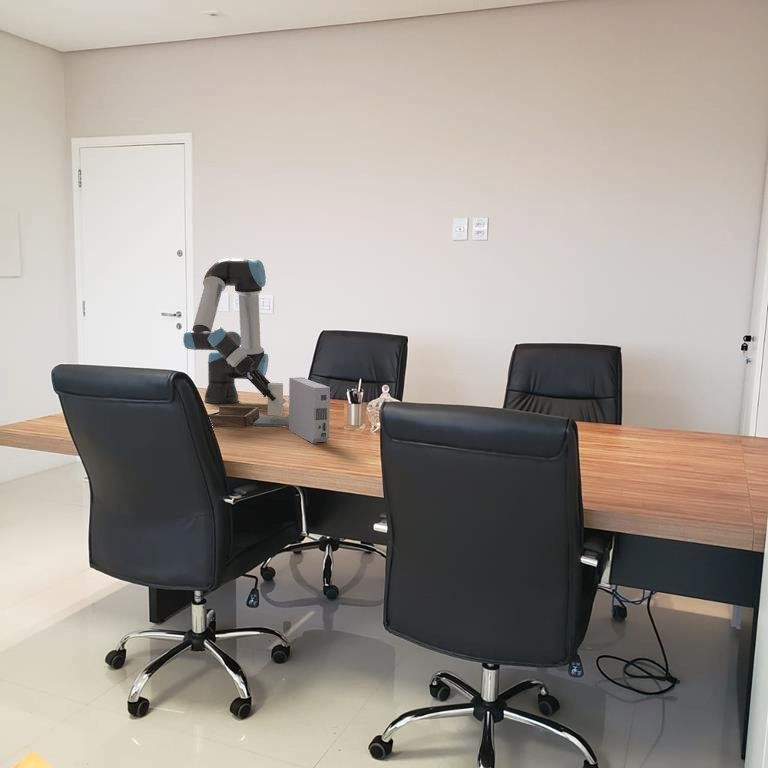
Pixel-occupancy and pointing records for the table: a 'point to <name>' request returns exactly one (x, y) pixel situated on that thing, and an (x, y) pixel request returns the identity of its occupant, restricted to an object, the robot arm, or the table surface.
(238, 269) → the robot arm
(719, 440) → the table surface
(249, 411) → the brown wooden tray
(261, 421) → the mat
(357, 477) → the table surface
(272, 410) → the cream block
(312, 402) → the game console
